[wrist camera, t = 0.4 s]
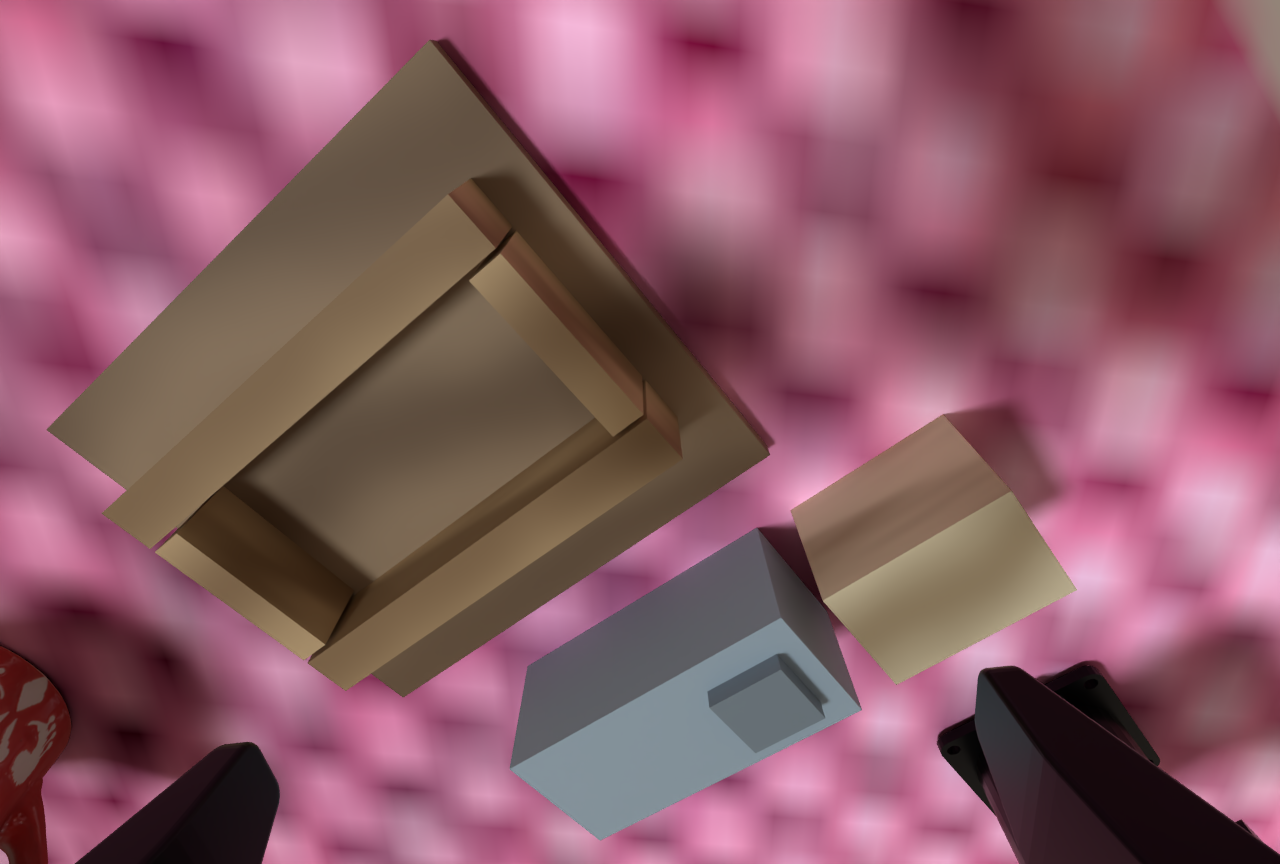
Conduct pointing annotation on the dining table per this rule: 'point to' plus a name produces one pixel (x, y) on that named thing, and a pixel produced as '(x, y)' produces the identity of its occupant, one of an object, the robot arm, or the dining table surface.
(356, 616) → the tray
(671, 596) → the grey block
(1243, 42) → the dining table surface
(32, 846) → the mug
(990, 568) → the tan rectangular block
